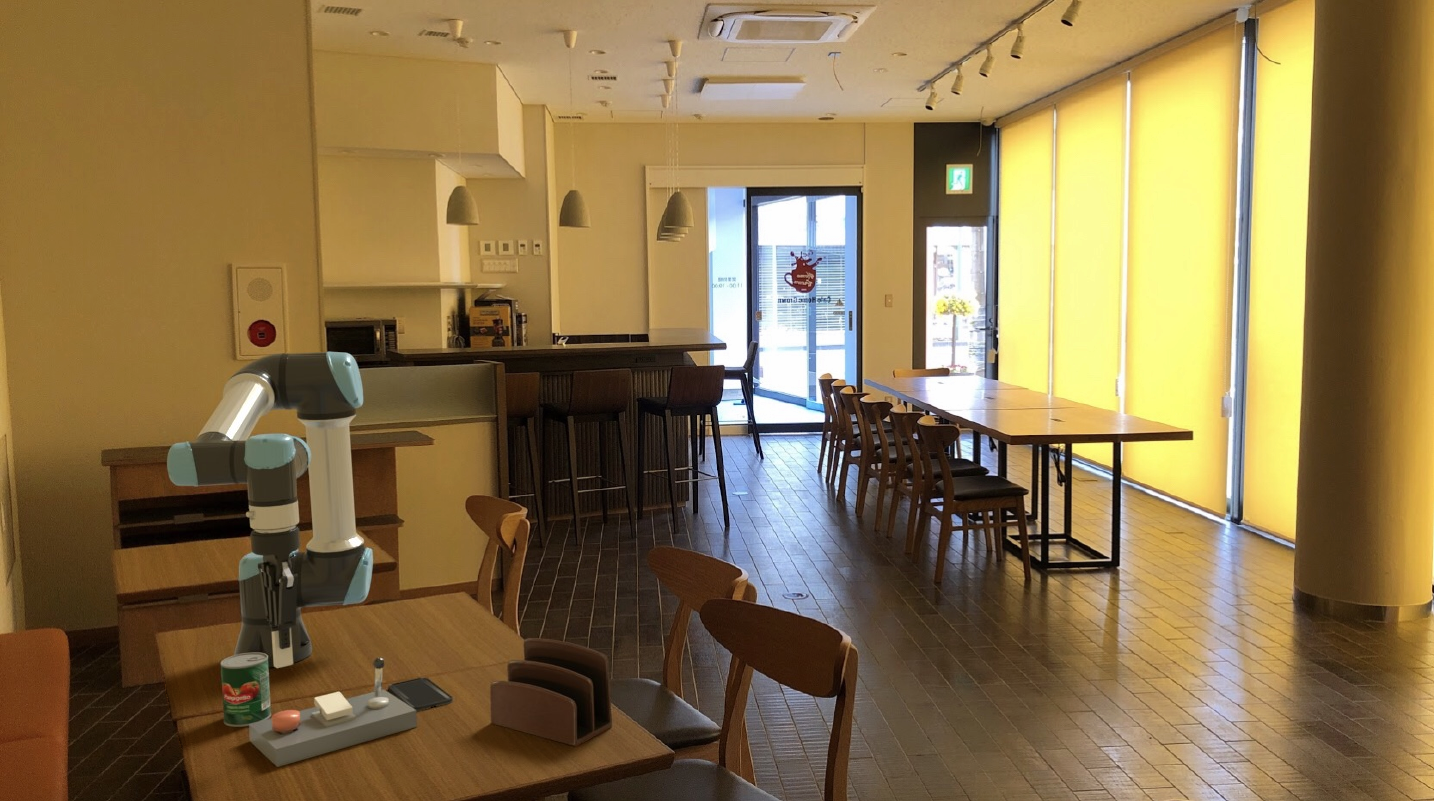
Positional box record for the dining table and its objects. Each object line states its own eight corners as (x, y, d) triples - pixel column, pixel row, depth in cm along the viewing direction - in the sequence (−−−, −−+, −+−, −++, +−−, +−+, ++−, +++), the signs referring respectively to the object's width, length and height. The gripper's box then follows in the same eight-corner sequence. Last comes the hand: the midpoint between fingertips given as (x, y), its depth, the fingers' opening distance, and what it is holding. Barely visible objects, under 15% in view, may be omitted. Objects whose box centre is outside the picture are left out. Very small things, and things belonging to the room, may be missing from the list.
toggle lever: (370, 694, 190) (371, 656, 188) (381, 691, 191) (382, 654, 190) (374, 699, 189) (376, 661, 187) (385, 696, 190) (387, 658, 188)
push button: (269, 743, 180) (268, 714, 180) (296, 735, 183) (294, 707, 183) (278, 751, 177) (276, 721, 177) (305, 743, 180) (303, 715, 180)
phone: (425, 676, 211) (454, 698, 199) (425, 682, 211) (454, 704, 199) (385, 685, 207) (413, 708, 195) (386, 690, 207) (413, 714, 195)
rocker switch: (314, 705, 186) (314, 697, 186) (339, 698, 189) (339, 691, 188) (327, 721, 182) (327, 714, 181) (352, 715, 184) (352, 707, 184)
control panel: (249, 740, 183) (248, 719, 183) (384, 704, 199) (383, 685, 198) (277, 766, 172) (275, 744, 172) (417, 726, 188) (416, 705, 188)
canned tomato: (224, 730, 188) (220, 669, 187) (223, 714, 195) (219, 656, 194) (272, 721, 191) (269, 662, 190) (270, 707, 199) (267, 649, 198)
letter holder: (529, 706, 197) (526, 631, 196) (613, 727, 186) (610, 649, 185) (489, 724, 189) (486, 647, 187) (575, 748, 178) (573, 666, 177)
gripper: (238, 524, 179) (247, 660, 182) (264, 538, 169) (273, 681, 172) (284, 517, 184) (292, 650, 187) (311, 530, 174) (320, 669, 177)
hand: (283, 664), depth 179 cm, fingers closed
